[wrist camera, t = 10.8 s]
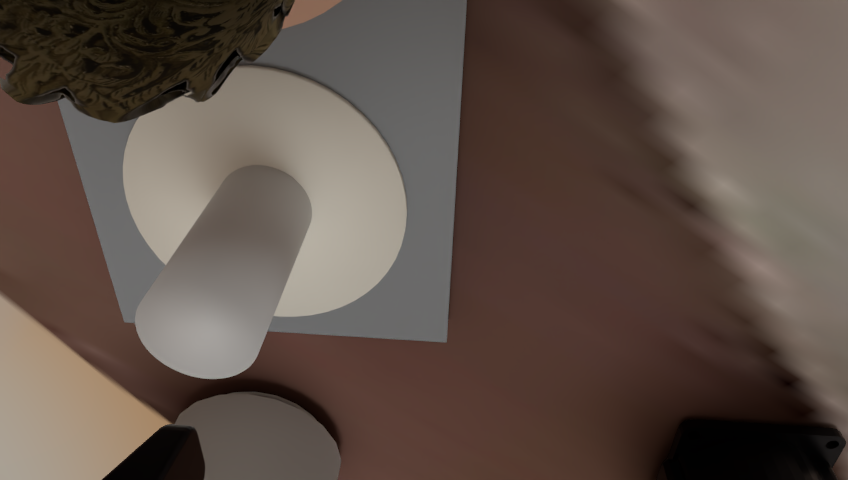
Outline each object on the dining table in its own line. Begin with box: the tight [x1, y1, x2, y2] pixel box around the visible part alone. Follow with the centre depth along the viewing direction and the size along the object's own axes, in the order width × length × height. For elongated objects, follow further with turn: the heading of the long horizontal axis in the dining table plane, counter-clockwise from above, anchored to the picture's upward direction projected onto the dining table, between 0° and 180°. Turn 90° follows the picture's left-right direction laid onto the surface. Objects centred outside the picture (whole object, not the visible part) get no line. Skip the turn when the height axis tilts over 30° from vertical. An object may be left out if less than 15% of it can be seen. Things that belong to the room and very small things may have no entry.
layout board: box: [57, 0, 467, 379], centre depth 16 cm, size 12×21×8 cm, turn 179°
